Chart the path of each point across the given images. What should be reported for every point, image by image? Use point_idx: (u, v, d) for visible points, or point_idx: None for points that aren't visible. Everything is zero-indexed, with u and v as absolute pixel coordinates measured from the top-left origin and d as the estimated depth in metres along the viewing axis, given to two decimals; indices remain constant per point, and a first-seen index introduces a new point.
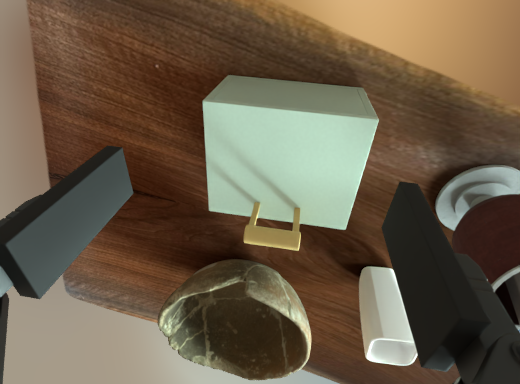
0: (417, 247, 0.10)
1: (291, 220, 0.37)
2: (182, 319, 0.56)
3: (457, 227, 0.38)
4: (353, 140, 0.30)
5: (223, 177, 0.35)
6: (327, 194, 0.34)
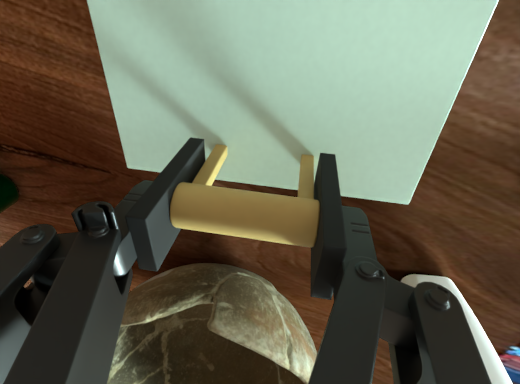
0: (319, 202, 0.12)
1: (294, 185, 0.18)
2: (126, 354, 0.37)
3: None
4: None
5: (141, 84, 0.16)
6: (378, 117, 0.15)
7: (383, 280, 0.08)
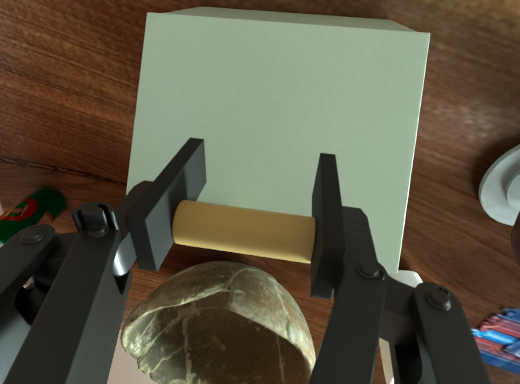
0: (319, 202, 0.12)
1: None
2: (156, 335, 0.45)
3: None
4: (393, 71, 0.18)
5: (160, 153, 0.19)
6: (355, 184, 0.18)
7: (383, 280, 0.08)
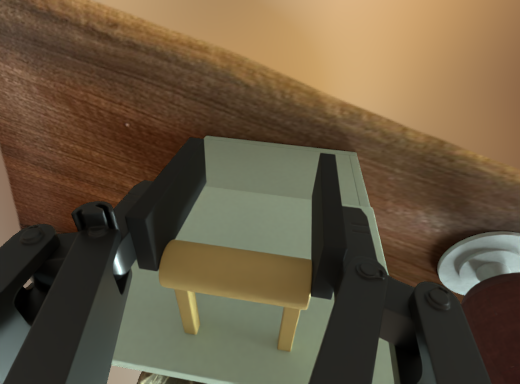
0: (319, 202, 0.12)
1: (270, 381, 0.14)
2: (165, 378, 0.52)
3: (462, 306, 0.34)
4: None
5: None
6: None
7: (383, 280, 0.08)
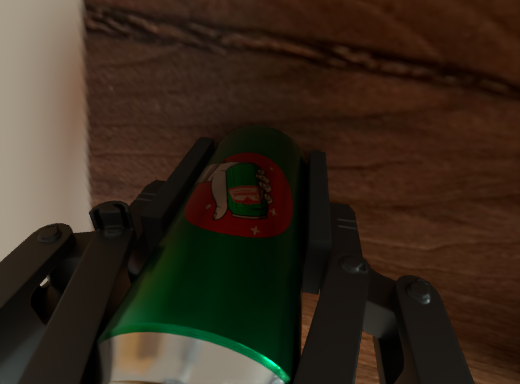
0: (307, 199, 0.12)
1: None
2: None
3: None
4: None
5: None
6: None
7: (366, 273, 0.09)
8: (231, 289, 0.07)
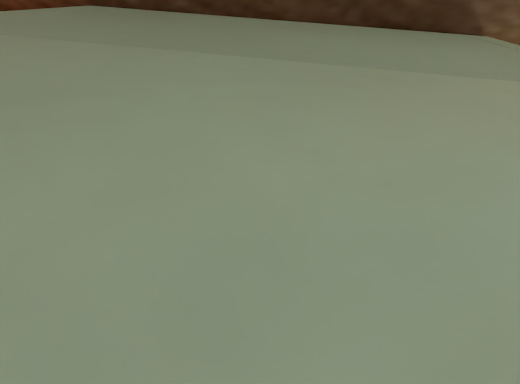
0: None
1: None
2: None
3: None
4: None
5: None
6: None
7: None
8: None
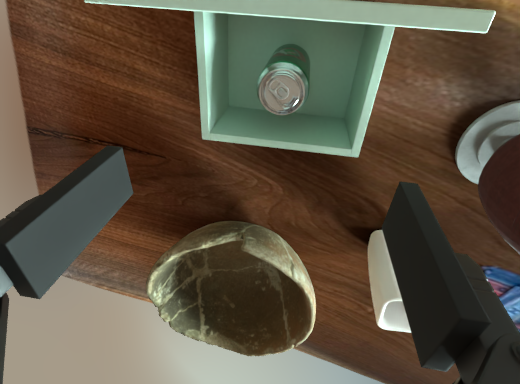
0: (417, 247, 0.10)
1: None
2: (174, 289, 0.51)
3: (485, 167, 0.33)
4: None
5: None
6: None
7: None
8: (293, 60, 0.27)
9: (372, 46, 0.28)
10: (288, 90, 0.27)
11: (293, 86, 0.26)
